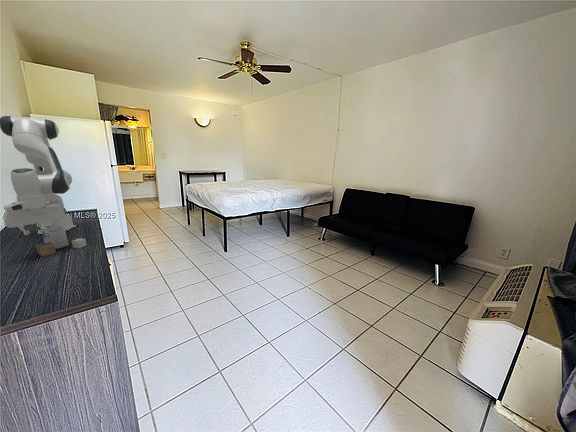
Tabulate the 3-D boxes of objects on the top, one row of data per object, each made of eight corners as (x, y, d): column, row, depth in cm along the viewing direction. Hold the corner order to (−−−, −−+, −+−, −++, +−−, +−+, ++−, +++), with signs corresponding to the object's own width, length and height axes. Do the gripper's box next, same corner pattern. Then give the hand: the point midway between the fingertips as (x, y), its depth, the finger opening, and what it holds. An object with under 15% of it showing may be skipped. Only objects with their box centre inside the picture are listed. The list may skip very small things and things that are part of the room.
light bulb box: (45, 246, 126) (39, 227, 123) (61, 242, 132) (56, 224, 129) (53, 249, 121) (47, 230, 118) (69, 245, 127) (64, 226, 124)
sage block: (73, 248, 123) (71, 240, 122) (80, 245, 127) (78, 238, 126) (79, 248, 122) (77, 241, 121) (86, 245, 126) (85, 238, 125)
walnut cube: (38, 254, 115) (35, 245, 113) (52, 251, 119) (49, 242, 118) (42, 256, 112) (39, 247, 111) (56, 253, 117) (53, 243, 115)
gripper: (58, 199, 120) (65, 225, 123) (-2, 207, 102) (8, 237, 105) (64, 200, 117) (71, 226, 120) (2, 208, 99) (12, 238, 102)
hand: (41, 231), depth 112 cm, fingers open, 8 cm apart
